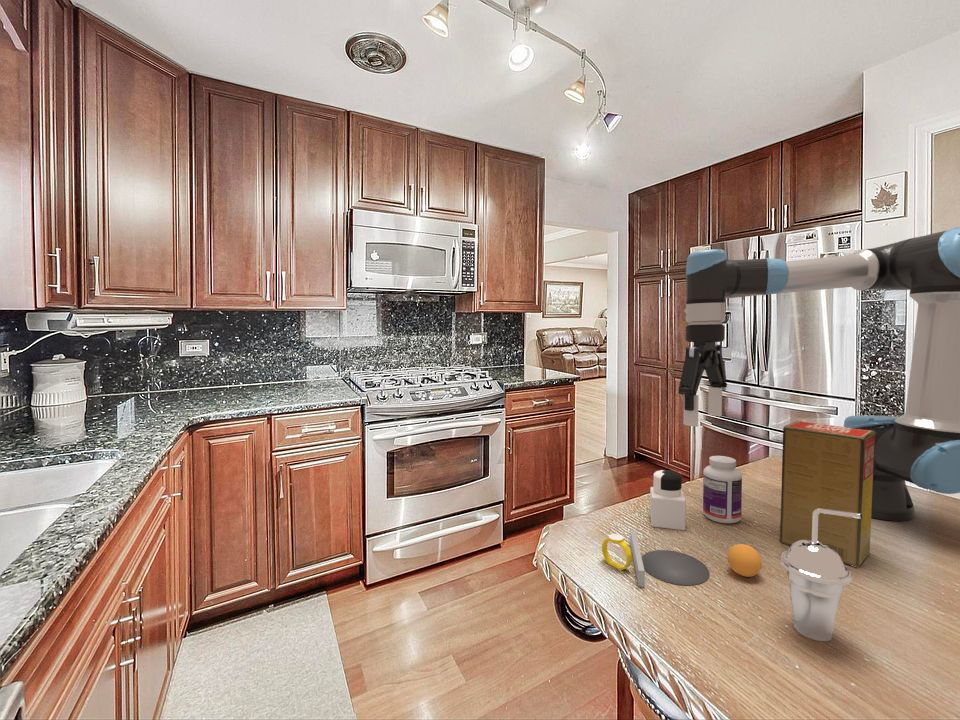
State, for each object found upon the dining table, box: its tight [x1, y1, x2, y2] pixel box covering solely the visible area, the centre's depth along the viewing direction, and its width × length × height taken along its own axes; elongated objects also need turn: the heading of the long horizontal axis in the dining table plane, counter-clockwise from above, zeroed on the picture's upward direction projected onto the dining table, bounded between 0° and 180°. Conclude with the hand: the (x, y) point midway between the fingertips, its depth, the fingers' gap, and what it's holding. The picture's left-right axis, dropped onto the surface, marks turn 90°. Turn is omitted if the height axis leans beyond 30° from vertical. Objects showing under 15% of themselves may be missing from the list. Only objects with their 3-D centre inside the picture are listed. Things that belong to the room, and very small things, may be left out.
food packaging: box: [779, 420, 875, 568], centre depth 88 cm, size 13×9×25 cm
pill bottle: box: [702, 455, 743, 524], centre depth 103 cm, size 8×8×14 cm
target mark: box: [641, 549, 710, 587], centre depth 83 cm, size 12×12×1 cm
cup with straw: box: [779, 508, 862, 642], centre depth 64 cm, size 8×9×20 cm
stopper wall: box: [629, 528, 646, 588], centre depth 85 cm, size 1×16×3 cm, turn 166°
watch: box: [601, 533, 633, 571], centre depth 84 cm, size 6×3×6 cm, turn 37°
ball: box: [726, 543, 763, 578], centre depth 80 cm, size 6×6×6 cm
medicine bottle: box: [649, 469, 687, 531], centre depth 101 cm, size 7×7×12 cm
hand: (703, 420), depth 95 cm, fingers open, 13 cm apart
